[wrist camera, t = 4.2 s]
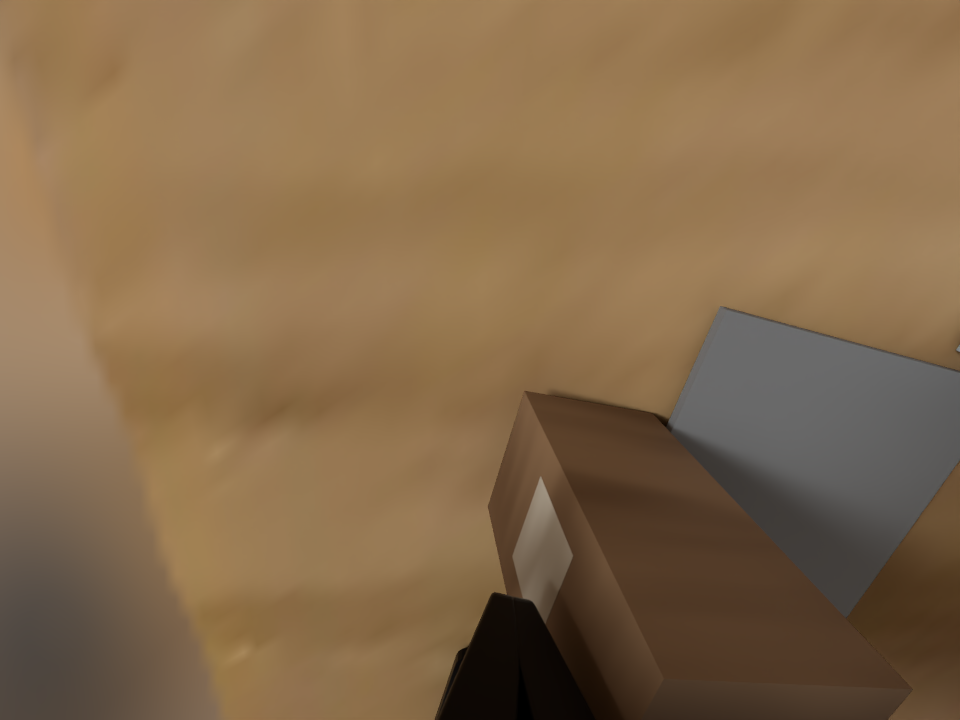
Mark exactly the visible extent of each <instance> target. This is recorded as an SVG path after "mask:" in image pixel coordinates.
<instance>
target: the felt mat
mask: <svg viewBox="0 0 960 720" xmlns="http://www.w3.org/2000/svg"><path fill="white" fill-rule="evenodd" d="M666 428H667V429H668V430H669V432H670V433H671V434H672V435H673V436H674V437H675V438H676V439H677V440H678V441H679V442H680V443H681V444H682V445H683V446H684V447H685V448H686V450H687V451H688V452H689V453H690V454H691V455H692V456H693V457H694V458H695V459H696V460H697V461H698V462H699V463H700V464H701V465H702V466H703V468H704V469H705V470H706V471H707V472H708V473H709V474H710V475H711V476H712V477H713V478H714V479H715V480H716V481H717V482H718V483H719V484H720V486H721V487H722V488H723V489H724V490H725V491H726V492H727V493H728V494H729V495H730V496H731V497H732V498H733V499H734V500H735V501H736V503H737V504H738V505H739V506H740V507H741V508H742V509H743V510H744V511H745V512H746V513H747V514H748V515H749V516H750V517H751V518H752V519H753V521H754V522H755V523H756V524H757V525H758V526H759V527H760V528H761V529H762V530H763V531H764V532H765V533H766V534H767V535H768V536H769V537H770V539H771V540H772V541H773V542H774V543H775V544H776V545H777V546H778V547H779V548H780V549H781V550H782V551H783V552H784V553H785V554H786V555H787V557H788V558H789V559H790V560H791V561H792V562H793V563H794V564H795V565H796V566H797V567H798V568H799V569H800V570H801V571H802V572H803V573H804V575H805V576H806V577H807V578H808V579H809V580H810V581H811V582H812V583H813V584H814V585H815V586H816V587H817V588H818V589H819V590H820V592H821V593H822V594H823V595H824V596H825V597H826V598H827V599H828V600H829V601H830V602H831V603H832V604H833V605H834V606H835V607H836V608H837V610H838V611H839V612H840V613H841V614H842V615H843V616H844V617H845V618H847V617H848V615H849V614H850V612H851V611H852V610H853V608H854V607H855V605H856V604H857V603H858V601H859V600H860V598H861V597H862V596H863V594H864V593H865V591H866V590H867V589H868V587H869V586H870V585H871V583H872V582H873V580H874V579H875V578H876V576H877V575H878V573H879V572H880V571H881V569H882V568H883V566H884V565H885V564H886V562H887V561H888V559H889V558H890V557H891V555H892V554H893V552H894V551H895V550H896V548H897V547H898V545H899V544H900V543H901V541H902V540H903V538H904V537H905V536H906V534H907V533H908V532H909V530H910V529H911V527H912V526H913V525H914V523H915V522H916V520H917V519H918V518H919V516H920V515H921V513H922V512H923V511H924V509H925V508H926V506H927V505H928V504H929V502H930V501H931V499H932V498H933V497H934V495H935V494H936V492H937V491H938V490H939V488H940V487H941V485H942V484H943V483H944V481H945V480H946V479H947V477H948V476H949V474H950V473H951V472H952V470H953V469H954V467H955V466H956V465H957V463H958V462H959V460H960V371H958V370H954V369H950V368H947V367H943V366H939V365H936V364H932V363H928V362H925V361H921V360H917V359H914V358H910V357H906V356H903V355H899V354H895V353H891V352H888V351H884V350H880V349H877V348H873V347H869V346H866V345H862V344H858V343H855V342H851V341H847V340H844V339H840V338H836V337H832V336H829V335H825V334H821V333H818V332H814V331H810V330H807V329H803V328H799V327H796V326H792V325H788V324H785V323H781V322H777V321H774V320H770V319H766V318H762V317H759V316H755V315H751V314H748V313H744V312H740V311H737V310H733V309H729V308H726V307H722V306H720V308H719V310H718V312H717V315H716V317H715V319H714V321H713V324H712V326H711V328H710V330H709V332H708V335H707V337H706V339H705V341H704V344H703V346H702V348H701V350H700V353H699V355H698V357H697V359H696V361H695V364H694V366H693V368H692V370H691V373H690V375H689V377H688V379H687V381H686V384H685V386H684V388H683V390H682V393H681V395H680V397H679V399H678V402H677V404H676V406H675V408H674V410H673V413H672V415H671V417H670V419H669V422H668V424H667V426H666Z"/></svg>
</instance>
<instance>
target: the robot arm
mask: <svg viewBox="0 0 960 720" xmlns="http://www.w3.org/2000/svg"><path fill="white" fill-rule="evenodd" d="M435 720H596V718H595V717H594V715H593V713H592V711H591V709H590V707H589V705H588V703H587V702H586V700H585V698H584V696H583V694H582V692H581V690H580V688H579V686H578V685H577V683H576V681H575V679H574V677H573V675H572V673H571V671H570V670H569V668H568V666H567V664H566V662H565V660H564V658H563V656H562V655H561V653H560V651H559V649H558V647H557V645H556V643H555V641H554V640H553V638H552V636H551V634H550V632H549V630H548V628H547V626H546V624H545V623H544V621H543V619H542V617H541V615H540V613H539V611H538V609H537V608H536V606H535V604H534V603H533V602H532V601H531V600H528V599H524V598H519V597H515V596H513V597H512V596H510V595H505V594H501V593H496V592H494V593H492V594H491V596H490V598H489V600H488V603H487V605H486V607H485V610H484V612H483V614H482V617H481V619H480V621H479V624H478V626H477V628H476V630H475V633H474V635H473V637H472V640H471V642H470V644H469V647H468V648H464V649H461V650H460V651H459V652H458V653H457V655H456V658H455V660H454V663H453V666H452V669H451V672H450V675H449V678H448V681H447V684H446V687H445V690H444V693H443V696H442V699H441V702H440V705H439V708H438V711H437V714H436V717H435Z"/></svg>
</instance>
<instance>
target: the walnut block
mask: <svg viewBox="0 0 960 720" xmlns="http://www.w3.org/2000/svg"><path fill="white" fill-rule="evenodd" d="M488 509H489V514H490V518H491V523H492V528H493V532H494V537H495V541H496V546H497V550H498V555H499V560H500V564H501V569H502V573H503V578H504V582H505V587H506V591H507V595H510V596H512V597H513V596H515V597H519V598H524V599H528V600H531V601H532V602H533V603H534V604H535V606H536V608H537V609H538V611H539V613H540V615H541V617H542V619H543V621H544V623H545V624H546V626H547V628H548V630H549V632H550V634H551V636H552V638H553V640H554V641H555V643H556V645H557V647H558V649H559V651H560V653H561V655H562V656H563V658H564V660H565V662H566V664H567V666H568V668H569V670H570V671H571V673H572V675H573V677H574V679H575V681H576V683H577V685H578V686H579V688H580V690H581V692H582V694H583V696H584V698H585V700H586V702H587V703H588V705H589V707H590V709H591V711H592V713H593V715H594V717H595V718H596V720H888V719H889V717H890V716H891V715H892V714H893V713H894V711H895V710H896V709H897V708H898V707H899V705H900V704H901V703H902V702H903V701H904V700H905V698H906V697H907V696H908V695H909V694H910V692H911V691H912V690H913V689H912V688H911V687H910V686H909V685H908V684H907V683H906V682H905V680H904V679H903V678H902V677H901V676H900V675H899V674H898V673H897V672H896V671H895V670H894V669H893V668H892V667H891V666H890V665H889V664H888V662H887V661H886V660H885V659H884V658H883V657H882V656H881V655H880V654H879V653H878V652H877V651H876V650H875V649H874V648H873V647H872V646H871V644H870V643H869V642H868V641H867V640H866V639H865V638H864V637H863V636H862V635H861V634H860V633H859V632H858V631H857V630H856V629H855V628H854V626H853V625H852V624H851V623H850V622H849V621H848V620H847V619H846V618H845V617H844V616H843V615H842V614H841V613H840V612H839V611H838V610H837V608H836V607H835V606H834V605H833V604H832V603H831V602H830V601H829V600H828V599H827V598H826V597H825V596H824V595H823V594H822V593H821V592H820V590H819V589H818V588H817V587H816V586H815V585H814V584H813V583H812V582H811V581H810V580H809V579H808V578H807V577H806V576H805V575H804V573H803V572H802V571H801V570H800V569H799V568H798V567H797V566H796V565H795V564H794V563H793V562H792V561H791V560H790V559H789V558H788V557H787V555H786V554H785V553H784V552H783V551H782V550H781V549H780V548H779V547H778V546H777V545H776V544H775V543H774V542H773V541H772V540H771V539H770V537H769V536H768V535H767V534H766V533H765V532H764V531H763V530H762V529H761V528H760V527H759V526H758V525H757V524H756V523H755V522H754V521H753V519H752V518H751V517H750V516H749V515H748V514H747V513H746V512H745V511H744V510H743V509H742V508H741V507H740V506H739V505H738V504H737V503H736V501H735V500H734V499H733V498H732V497H731V496H730V495H729V494H728V493H727V492H726V491H725V490H724V489H723V488H722V487H721V486H720V484H719V483H718V482H717V481H716V480H715V479H714V478H713V477H712V476H711V475H710V474H709V473H708V472H707V471H706V470H705V469H704V468H703V466H702V465H701V464H700V463H699V462H698V461H697V460H696V459H695V458H694V457H693V456H692V455H691V454H690V453H689V452H688V451H687V450H686V448H685V447H684V446H683V445H682V444H681V443H680V442H679V441H678V440H677V439H676V438H675V437H674V436H673V435H672V434H671V433H670V432H669V430H668V429H667V428H666V427H665V426H664V425H663V424H662V423H661V422H660V421H659V420H658V419H657V418H656V417H655V416H654V415H653V414H652V413H647V412H642V411H636V410H630V409H625V408H619V407H613V406H608V405H602V404H596V403H590V402H585V401H579V400H573V399H568V398H562V397H556V396H551V395H545V394H539V393H534V392H528V391H524V394H523V397H522V400H521V403H520V406H519V409H518V413H517V416H516V419H515V422H514V425H513V428H512V432H511V435H510V438H509V441H508V444H507V448H506V451H505V454H504V457H503V460H502V463H501V467H500V470H499V473H498V476H497V479H496V483H495V486H494V489H493V492H492V495H491V498H490V502H489V505H488Z"/></svg>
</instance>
